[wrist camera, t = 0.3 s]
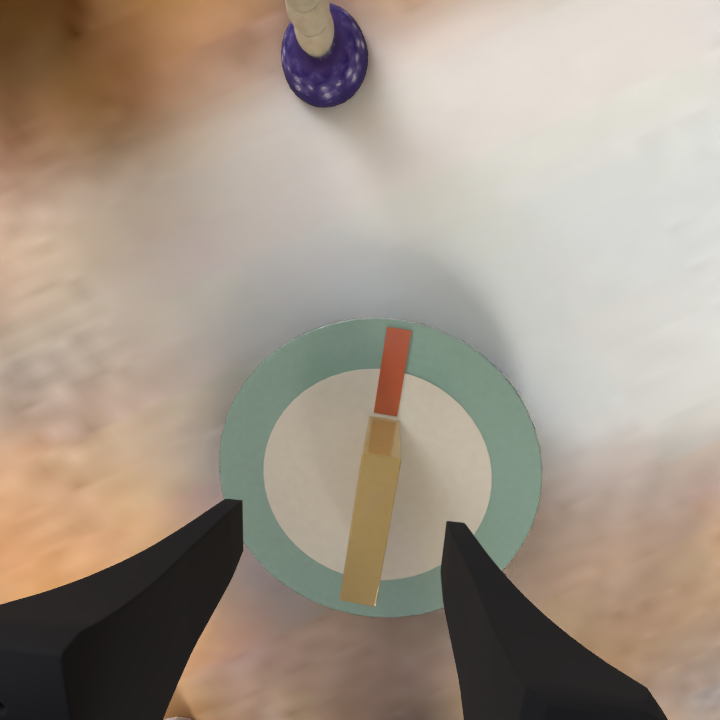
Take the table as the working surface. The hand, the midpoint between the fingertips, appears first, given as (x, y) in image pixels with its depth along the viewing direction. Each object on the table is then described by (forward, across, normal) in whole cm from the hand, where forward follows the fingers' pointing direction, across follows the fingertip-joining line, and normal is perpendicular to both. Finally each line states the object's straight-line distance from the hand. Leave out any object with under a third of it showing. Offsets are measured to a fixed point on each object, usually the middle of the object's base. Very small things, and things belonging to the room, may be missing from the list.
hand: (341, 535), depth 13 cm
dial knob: (+8, -1, +2) cm, 8 cm away
